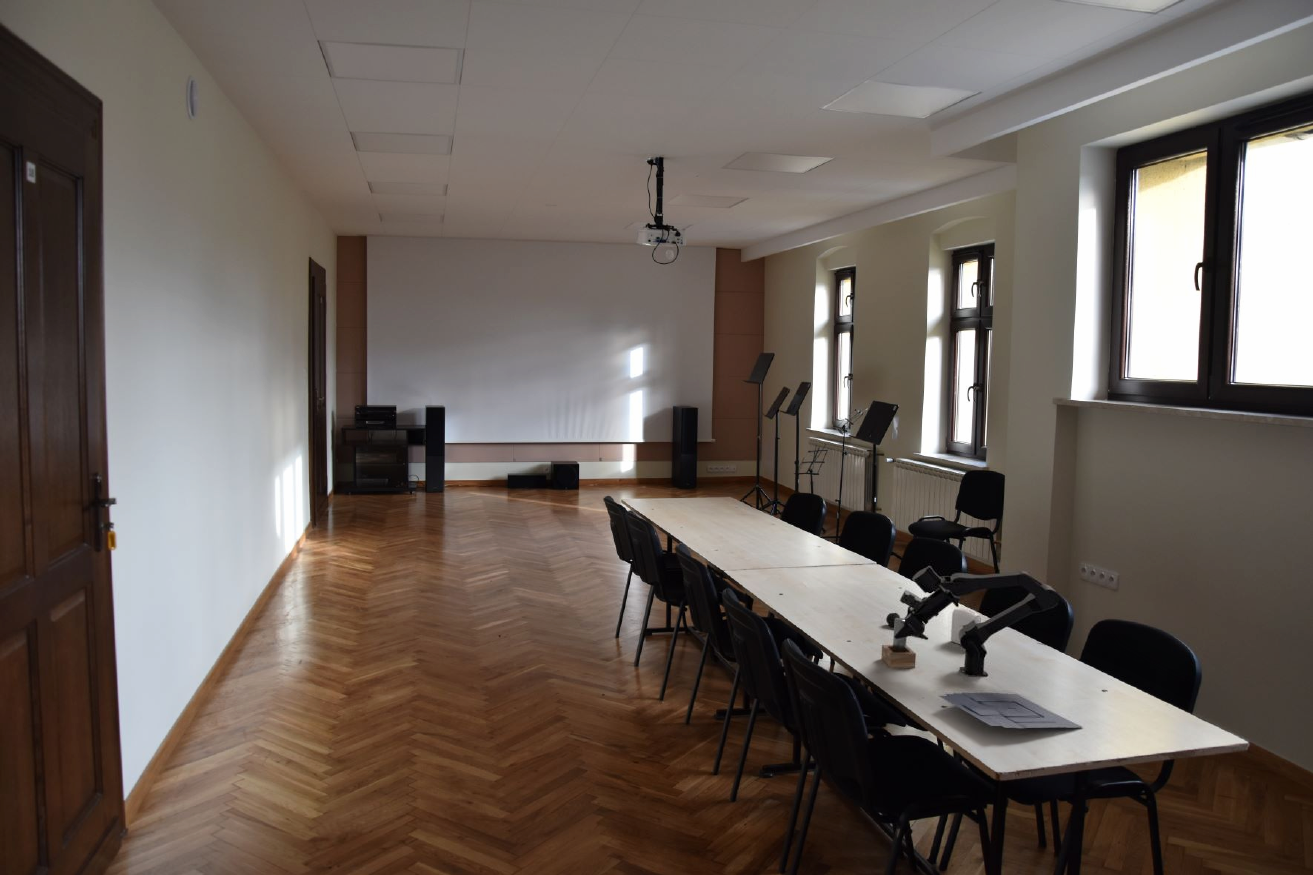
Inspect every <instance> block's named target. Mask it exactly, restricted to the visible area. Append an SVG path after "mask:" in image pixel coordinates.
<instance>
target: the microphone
mask: <svg viewBox="0 0 1313 875" xmlns="http://www.w3.org/2000/svg"><path fill="white" fill-rule="evenodd" d="M895 618H901V615H899V614H898V613H897V612H890V613H888V615H887V616H886V620H885V621H886V622H885V623H887V625H888V626H889V627H890V628H894V622H895ZM915 636H916V637H918V638H922V639H925V640H929V637H928V636H926V634H924V632H923V633H922V634H921V635H915Z"/></svg>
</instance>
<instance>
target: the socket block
mask: <svg viewBox="0 0 1313 875" xmlns="http://www.w3.org/2000/svg"><path fill="white" fill-rule="evenodd" d="M916 657H917V654H916V652H914V651H913V649H911V648H910V647H909V646H908V645H907V644H906V652H893V644H882V645H881V660H883V662H884V663H885V664H886V665H887V666H888V667H889V668H890V669H891V668H895V669H896V668H899V669H900V668H904V669H905V668H909V669H910V668H912V669H913V668H914V669H915V668H916Z"/></svg>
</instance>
